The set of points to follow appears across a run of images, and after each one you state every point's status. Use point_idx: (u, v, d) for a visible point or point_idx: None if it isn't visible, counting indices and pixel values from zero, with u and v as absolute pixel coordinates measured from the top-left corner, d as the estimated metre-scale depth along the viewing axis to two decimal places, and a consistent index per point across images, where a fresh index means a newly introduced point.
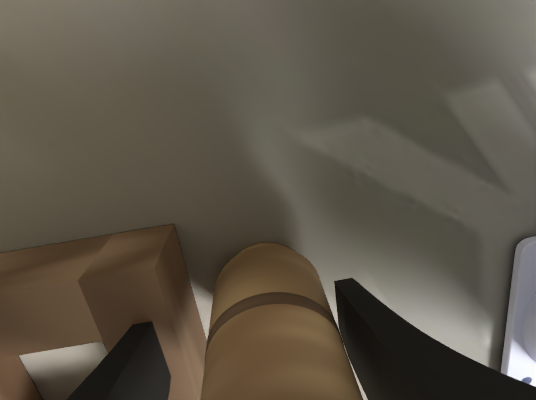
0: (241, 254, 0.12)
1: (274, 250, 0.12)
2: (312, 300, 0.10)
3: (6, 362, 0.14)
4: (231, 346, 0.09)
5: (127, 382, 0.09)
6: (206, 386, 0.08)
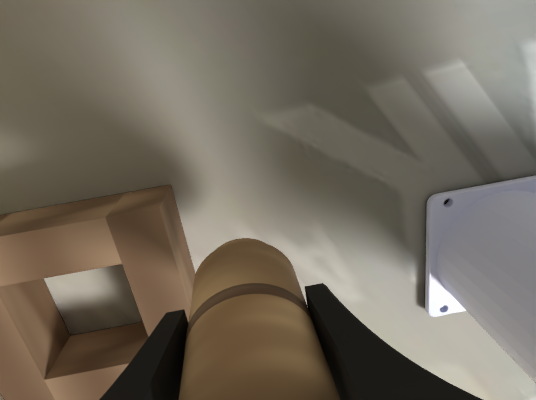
0: (219, 249, 0.13)
1: (251, 245, 0.13)
2: (287, 290, 0.11)
3: (42, 294, 0.18)
4: (210, 333, 0.09)
5: (163, 375, 0.09)
6: (186, 371, 0.09)
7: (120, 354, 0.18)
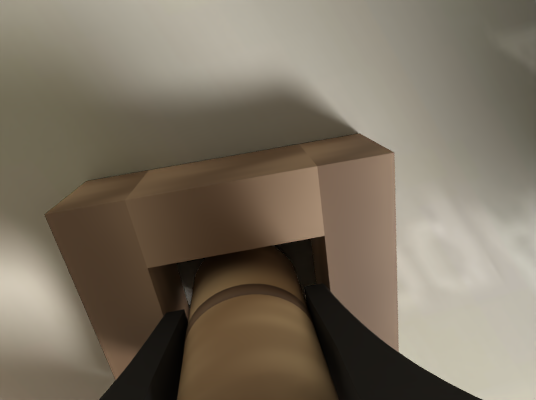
0: None
1: None
2: (286, 291, 0.11)
3: (177, 282, 0.14)
4: (209, 333, 0.09)
5: (163, 375, 0.09)
6: (184, 372, 0.09)
7: None
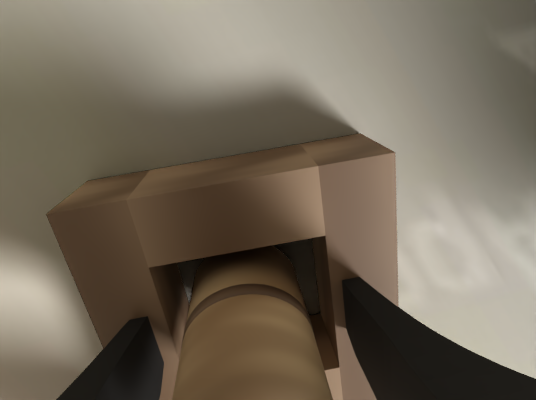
0: None
1: None
2: (284, 291, 0.11)
3: (177, 282, 0.14)
4: (205, 333, 0.09)
5: (116, 384, 0.09)
6: (180, 371, 0.09)
7: None
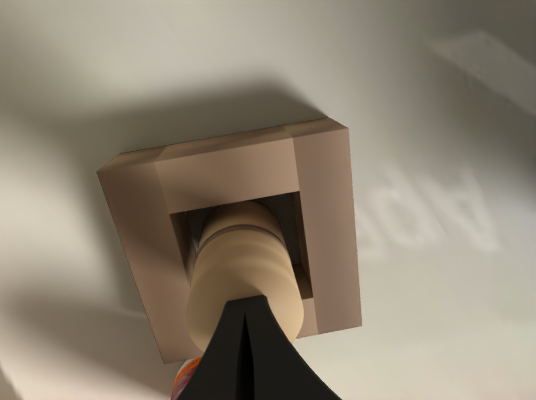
0: (221, 205, 0.17)
1: (245, 202, 0.17)
2: (269, 231, 0.14)
3: (188, 234, 0.18)
4: (211, 252, 0.13)
5: (242, 360, 0.09)
6: (194, 276, 0.13)
7: None
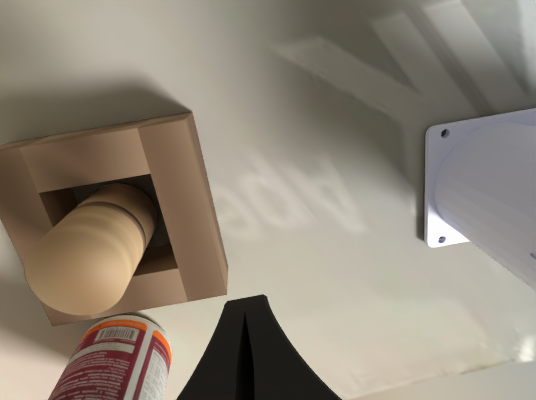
0: (98, 188, 0.19)
1: (118, 185, 0.19)
2: (122, 207, 0.17)
3: None
4: None
5: (242, 360, 0.09)
6: None
7: (145, 267, 0.20)
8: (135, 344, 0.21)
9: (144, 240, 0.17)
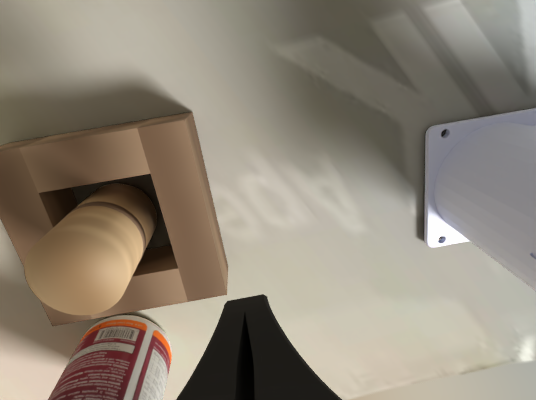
0: (98, 188, 0.19)
1: (118, 185, 0.19)
2: (122, 207, 0.17)
3: None
4: None
5: (242, 360, 0.09)
6: None
7: (145, 267, 0.20)
8: (135, 344, 0.21)
9: (144, 240, 0.17)
